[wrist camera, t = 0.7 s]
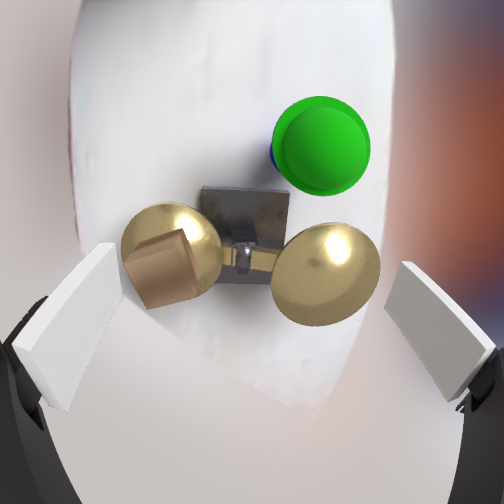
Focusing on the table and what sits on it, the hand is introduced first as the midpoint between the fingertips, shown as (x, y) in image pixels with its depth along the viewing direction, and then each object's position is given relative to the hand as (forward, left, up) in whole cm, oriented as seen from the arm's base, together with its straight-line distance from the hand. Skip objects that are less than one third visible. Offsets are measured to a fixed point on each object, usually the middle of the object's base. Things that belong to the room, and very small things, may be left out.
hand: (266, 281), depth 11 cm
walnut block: (+6, -8, -15) cm, 18 cm away
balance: (+6, 0, -22) cm, 23 cm away
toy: (-6, +5, -22) cm, 23 cm away
